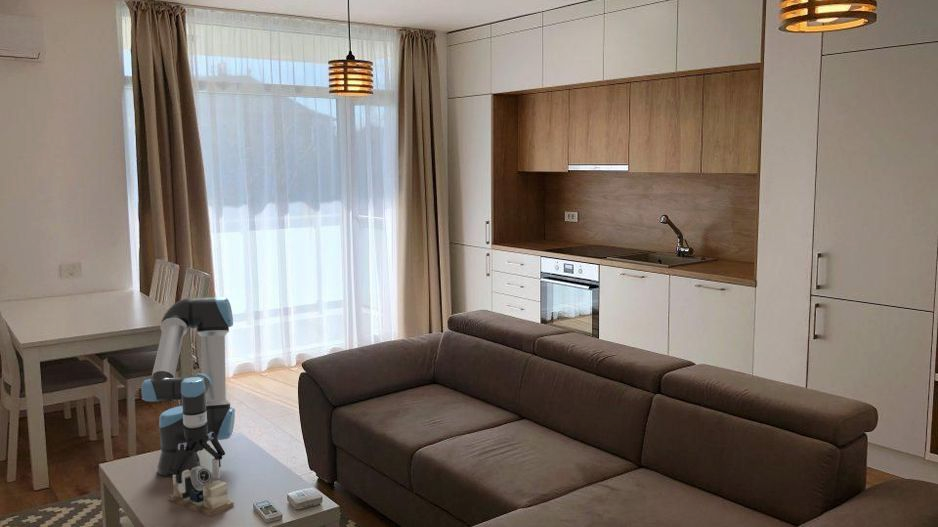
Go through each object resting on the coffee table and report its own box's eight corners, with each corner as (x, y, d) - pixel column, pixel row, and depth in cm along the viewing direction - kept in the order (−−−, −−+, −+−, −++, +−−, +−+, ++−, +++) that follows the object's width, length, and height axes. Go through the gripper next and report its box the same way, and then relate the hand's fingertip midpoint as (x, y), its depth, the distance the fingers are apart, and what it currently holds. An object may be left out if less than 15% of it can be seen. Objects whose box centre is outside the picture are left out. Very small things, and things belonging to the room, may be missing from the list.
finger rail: (168, 499, 267) (167, 476, 266) (191, 490, 275) (189, 467, 273) (211, 516, 254) (209, 491, 253) (233, 506, 262) (232, 482, 260)
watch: (200, 504, 260) (198, 472, 258) (187, 498, 265) (184, 467, 263) (215, 498, 264) (213, 467, 263) (201, 492, 269) (199, 462, 268)
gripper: (169, 437, 248) (174, 500, 252) (233, 415, 269) (236, 473, 272) (155, 433, 253) (160, 495, 256) (219, 411, 273) (223, 469, 276)
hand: (199, 484), depth 264 cm, fingers open, 13 cm apart
